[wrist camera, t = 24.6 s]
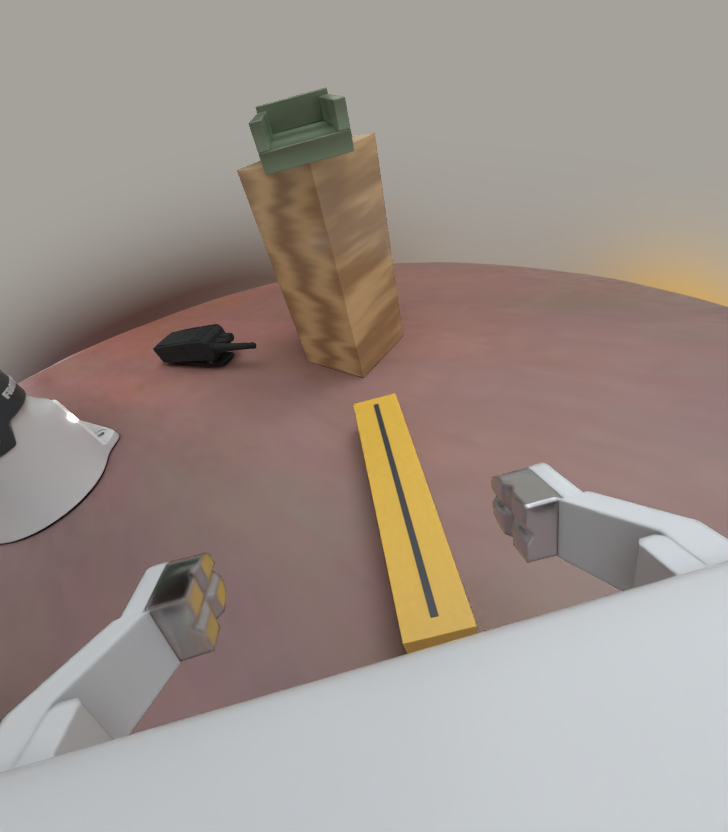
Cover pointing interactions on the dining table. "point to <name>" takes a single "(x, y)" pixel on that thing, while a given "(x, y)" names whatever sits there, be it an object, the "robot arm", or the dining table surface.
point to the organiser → (325, 229)
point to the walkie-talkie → (199, 346)
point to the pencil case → (411, 532)
